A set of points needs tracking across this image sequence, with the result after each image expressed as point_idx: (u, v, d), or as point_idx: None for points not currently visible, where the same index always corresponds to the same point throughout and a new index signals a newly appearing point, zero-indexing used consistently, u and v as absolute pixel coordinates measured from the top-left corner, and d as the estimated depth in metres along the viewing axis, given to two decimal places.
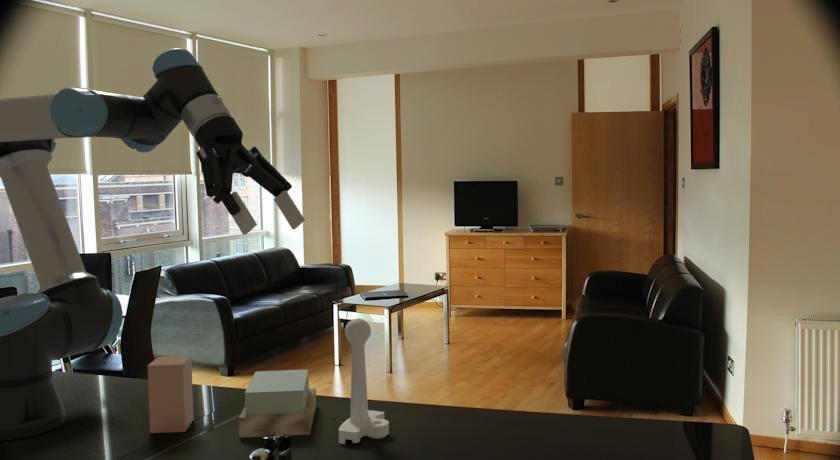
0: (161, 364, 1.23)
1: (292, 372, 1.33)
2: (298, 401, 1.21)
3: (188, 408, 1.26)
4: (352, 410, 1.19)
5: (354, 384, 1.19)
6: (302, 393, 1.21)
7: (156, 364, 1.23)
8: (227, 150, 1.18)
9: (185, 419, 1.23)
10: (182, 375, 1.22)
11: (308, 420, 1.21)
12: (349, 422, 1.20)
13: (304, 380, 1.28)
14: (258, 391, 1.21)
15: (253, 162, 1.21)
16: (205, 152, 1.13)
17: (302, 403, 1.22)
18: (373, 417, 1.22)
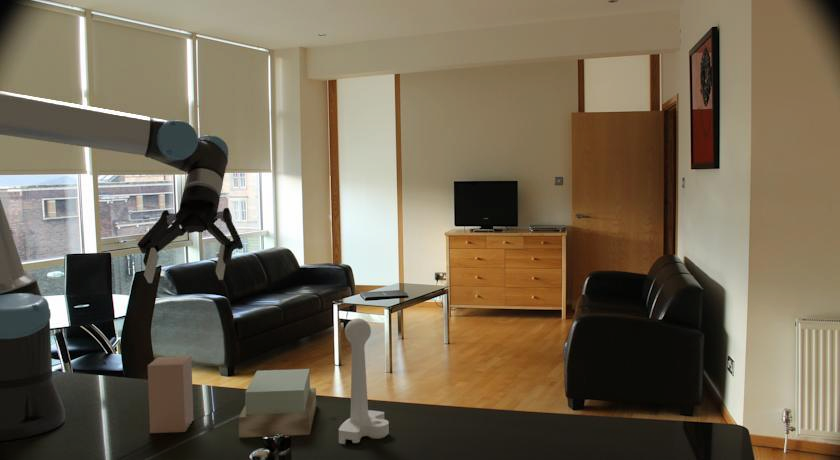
0: (161, 364, 1.23)
1: (293, 371, 1.33)
2: (298, 401, 1.21)
3: (188, 408, 1.26)
4: (352, 410, 1.19)
5: (354, 384, 1.19)
6: (302, 393, 1.21)
7: (156, 364, 1.23)
8: None
9: (185, 419, 1.23)
10: (182, 375, 1.22)
11: (308, 420, 1.21)
12: (349, 422, 1.20)
13: (305, 380, 1.28)
14: (258, 391, 1.21)
15: (184, 232, 1.43)
16: (230, 218, 1.44)
17: (302, 403, 1.22)
18: (373, 417, 1.22)
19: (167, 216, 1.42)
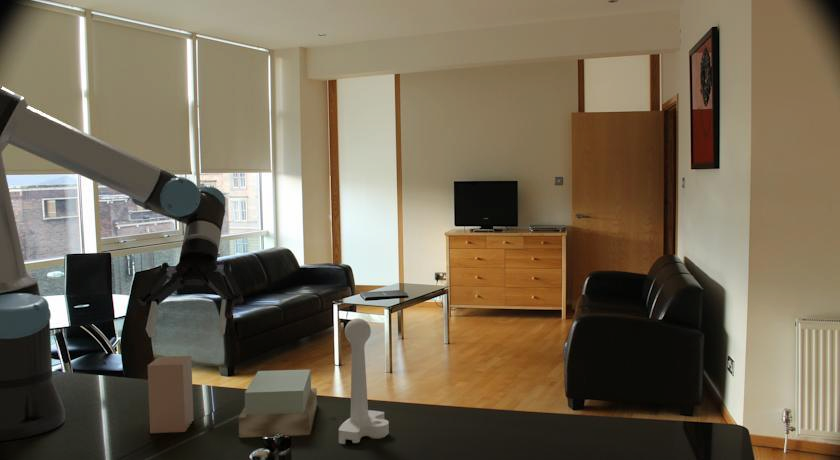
0: (161, 364, 1.23)
1: (294, 372, 1.33)
2: (297, 402, 1.21)
3: (188, 408, 1.26)
4: (352, 410, 1.19)
5: (354, 384, 1.19)
6: (302, 393, 1.21)
7: (156, 364, 1.23)
8: None
9: (185, 419, 1.23)
10: (182, 375, 1.22)
11: (308, 420, 1.21)
12: (349, 422, 1.20)
13: (305, 380, 1.27)
14: (258, 391, 1.21)
15: (183, 285, 1.44)
16: None
17: (302, 403, 1.21)
18: (373, 417, 1.22)
19: (167, 268, 1.44)
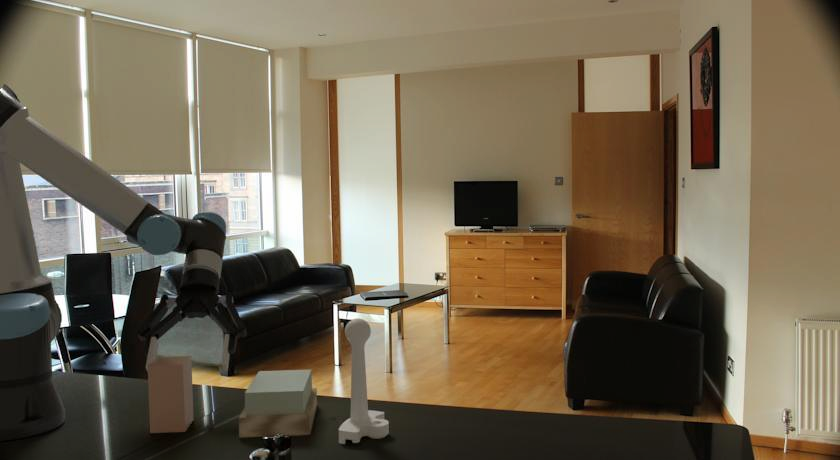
0: (161, 364, 1.23)
1: (295, 372, 1.33)
2: (297, 402, 1.21)
3: (188, 408, 1.26)
4: (352, 410, 1.19)
5: (354, 384, 1.19)
6: (302, 394, 1.21)
7: (156, 364, 1.23)
8: None
9: (185, 419, 1.23)
10: (182, 375, 1.22)
11: (308, 420, 1.21)
12: (349, 422, 1.20)
13: (305, 380, 1.27)
14: (258, 391, 1.21)
15: (184, 317, 1.39)
16: (232, 302, 1.40)
17: (302, 404, 1.21)
18: (373, 417, 1.22)
19: (167, 301, 1.38)
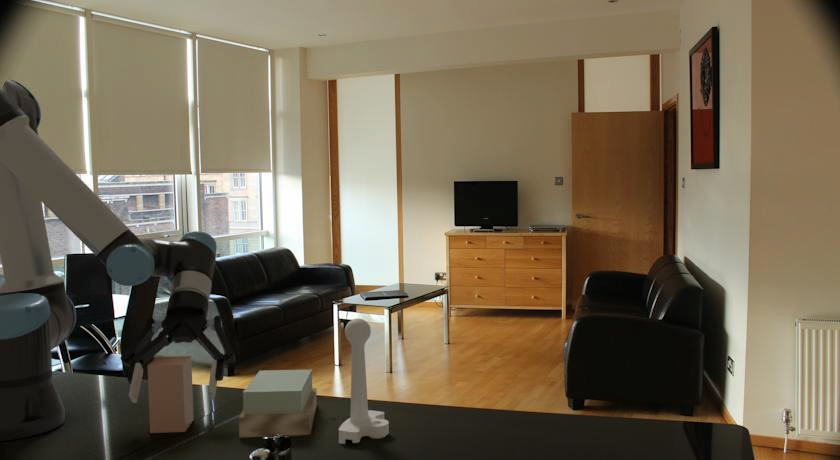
0: (161, 364, 1.23)
1: (295, 372, 1.33)
2: (295, 402, 1.21)
3: (188, 408, 1.26)
4: (352, 410, 1.19)
5: (354, 384, 1.19)
6: (300, 393, 1.21)
7: (156, 364, 1.23)
8: None
9: (185, 419, 1.23)
10: (182, 375, 1.22)
11: (308, 420, 1.21)
12: (349, 422, 1.20)
13: (304, 380, 1.27)
14: (256, 391, 1.21)
15: (170, 342, 1.33)
16: (221, 326, 1.35)
17: (300, 404, 1.21)
18: (373, 417, 1.22)
19: (153, 325, 1.32)
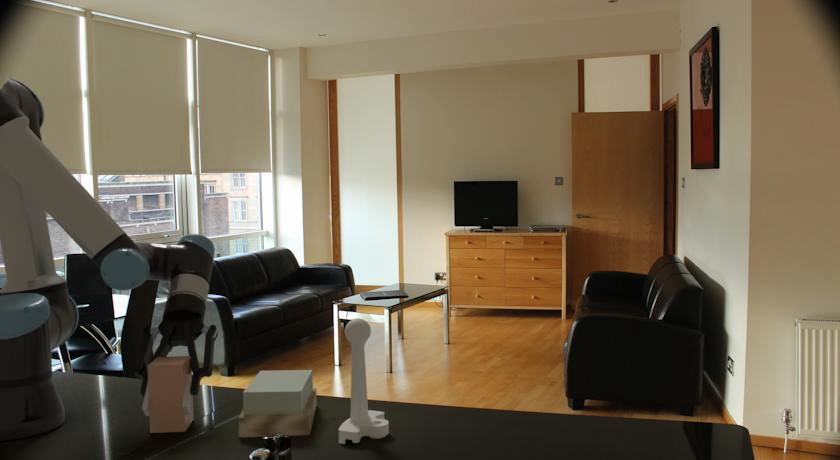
0: (161, 364, 1.23)
1: (296, 372, 1.33)
2: (295, 402, 1.21)
3: None
4: (352, 410, 1.19)
5: (354, 384, 1.19)
6: (300, 394, 1.21)
7: (156, 364, 1.23)
8: None
9: (185, 419, 1.23)
10: (182, 375, 1.22)
11: (308, 420, 1.20)
12: (349, 422, 1.20)
13: (305, 381, 1.27)
14: (256, 391, 1.21)
15: (172, 347, 1.32)
16: (214, 336, 1.33)
17: (300, 404, 1.21)
18: (373, 417, 1.22)
19: (151, 332, 1.31)
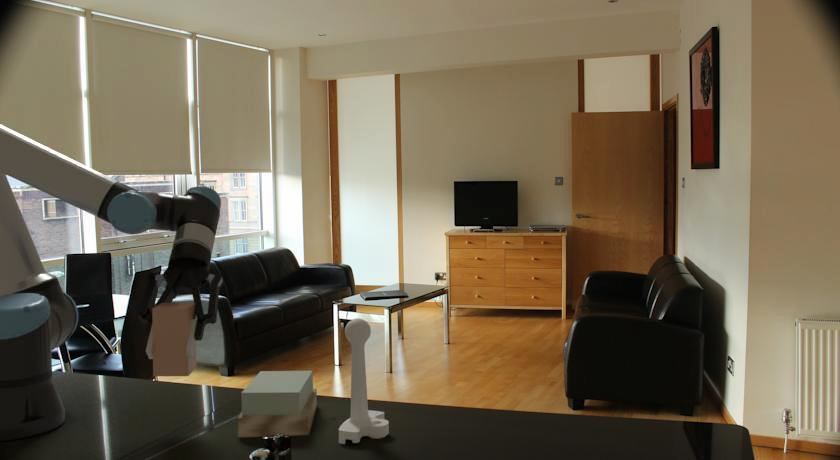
0: (166, 307, 1.22)
1: (296, 373, 1.33)
2: (293, 403, 1.21)
3: None
4: (352, 410, 1.19)
5: (354, 384, 1.19)
6: (298, 395, 1.21)
7: (161, 307, 1.22)
8: None
9: (188, 363, 1.23)
10: (187, 319, 1.22)
11: (307, 421, 1.20)
12: (349, 422, 1.20)
13: (304, 382, 1.27)
14: (255, 391, 1.21)
15: (177, 294, 1.32)
16: (219, 285, 1.33)
17: (298, 405, 1.21)
18: (373, 417, 1.22)
19: (156, 278, 1.31)
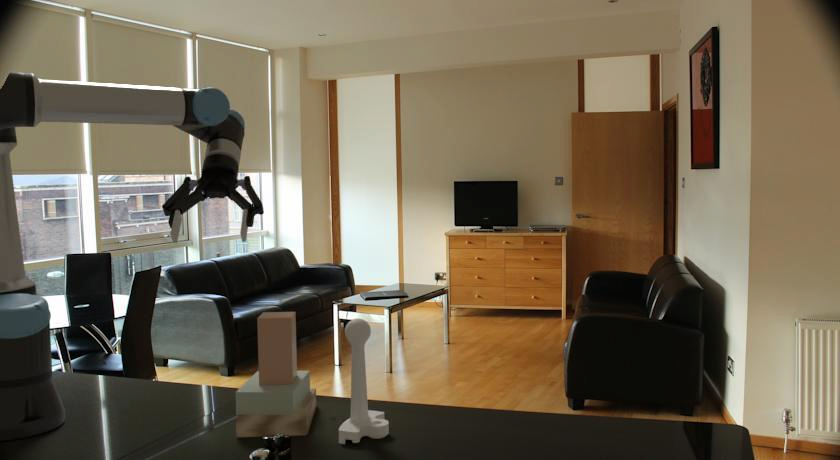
0: (270, 317, 1.25)
1: None
2: (287, 403, 1.21)
3: (294, 362, 1.28)
4: (352, 410, 1.19)
5: (354, 384, 1.19)
6: (291, 395, 1.20)
7: (265, 317, 1.25)
8: None
9: (293, 372, 1.26)
10: (290, 328, 1.25)
11: (305, 420, 1.20)
12: (349, 422, 1.20)
13: (299, 381, 1.27)
14: (249, 391, 1.21)
15: (205, 198, 1.49)
16: None
17: (291, 405, 1.21)
18: (373, 417, 1.22)
19: (189, 182, 1.48)
